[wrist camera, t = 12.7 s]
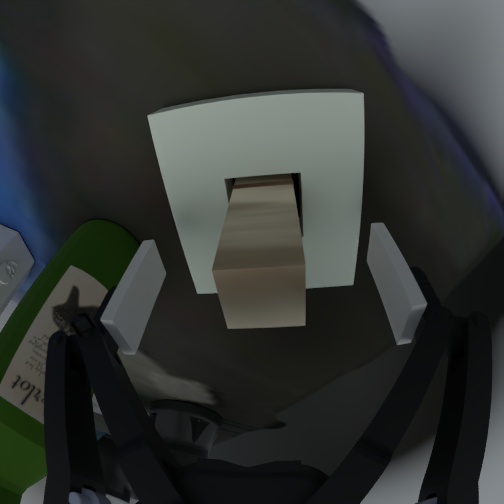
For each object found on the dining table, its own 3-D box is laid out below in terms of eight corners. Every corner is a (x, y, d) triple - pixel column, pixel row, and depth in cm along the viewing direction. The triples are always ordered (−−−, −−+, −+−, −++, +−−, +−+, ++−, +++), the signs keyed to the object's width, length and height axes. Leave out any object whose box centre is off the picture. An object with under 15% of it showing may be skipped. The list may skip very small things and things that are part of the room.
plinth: (346, 263, 27) (353, 284, 24) (203, 272, 29) (197, 293, 26) (351, 89, 18) (363, 93, 15) (162, 108, 19) (147, 115, 17)
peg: (293, 211, 24) (306, 326, 14) (244, 215, 24) (227, 329, 15) (290, 165, 22) (306, 263, 12) (237, 170, 22) (210, 269, 12)
